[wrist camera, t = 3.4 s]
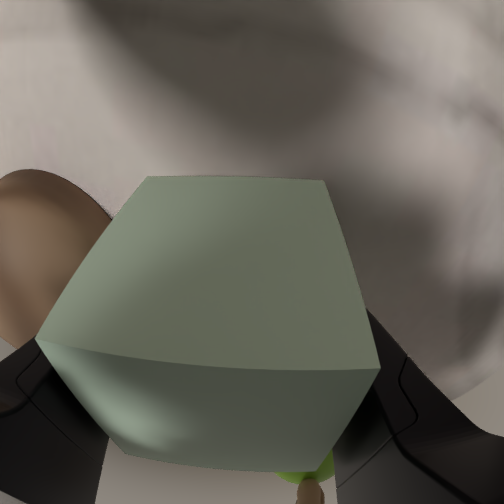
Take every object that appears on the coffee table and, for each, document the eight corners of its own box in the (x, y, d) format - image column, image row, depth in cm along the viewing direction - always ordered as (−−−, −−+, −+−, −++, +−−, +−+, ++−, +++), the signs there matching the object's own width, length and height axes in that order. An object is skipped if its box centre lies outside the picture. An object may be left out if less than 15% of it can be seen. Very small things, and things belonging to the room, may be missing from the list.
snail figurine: (351, 374, 17) (371, 580, 7) (344, 419, 20) (353, 572, 11) (256, 382, 17) (244, 587, 8) (269, 425, 21) (263, 578, 11)
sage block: (323, 180, 9) (380, 368, 4) (305, 309, 12) (315, 471, 7) (147, 176, 9) (34, 338, 4) (169, 303, 12) (125, 453, 7)
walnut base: (111, 160, 10) (68, 199, 8) (152, 334, 15) (137, 383, 13) (-35, 179, 10) (-75, 210, 8) (22, 314, 16) (0, 350, 13)
